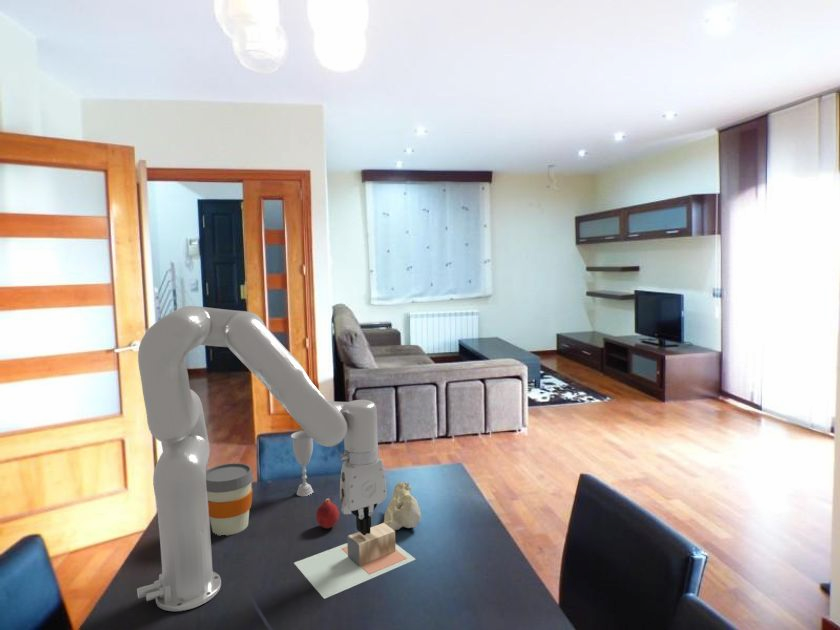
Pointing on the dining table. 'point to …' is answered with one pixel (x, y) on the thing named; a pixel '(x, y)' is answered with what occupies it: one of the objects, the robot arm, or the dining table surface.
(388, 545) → the maple block
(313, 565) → the mat
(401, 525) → the beige rock
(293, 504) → the dining table surface
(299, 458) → the chalice
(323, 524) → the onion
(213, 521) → the reusable coffee cup
